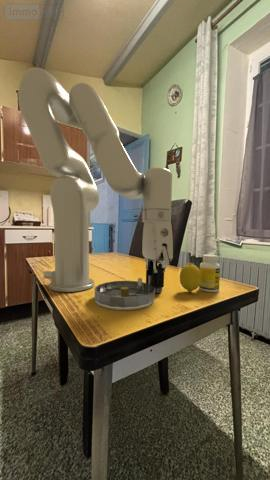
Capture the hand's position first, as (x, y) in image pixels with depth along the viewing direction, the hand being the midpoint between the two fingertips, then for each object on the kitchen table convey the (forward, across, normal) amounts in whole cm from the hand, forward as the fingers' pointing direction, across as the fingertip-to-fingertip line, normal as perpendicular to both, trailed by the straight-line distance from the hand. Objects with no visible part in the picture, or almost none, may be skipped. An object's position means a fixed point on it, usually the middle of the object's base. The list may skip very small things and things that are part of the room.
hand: (154, 284), depth 58 cm
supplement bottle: (+2, -3, -16) cm, 16 cm away
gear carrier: (+2, -4, +9) cm, 10 cm away
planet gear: (+2, 0, 0) cm, 2 cm away
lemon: (+2, -3, -9) cm, 10 cm away
